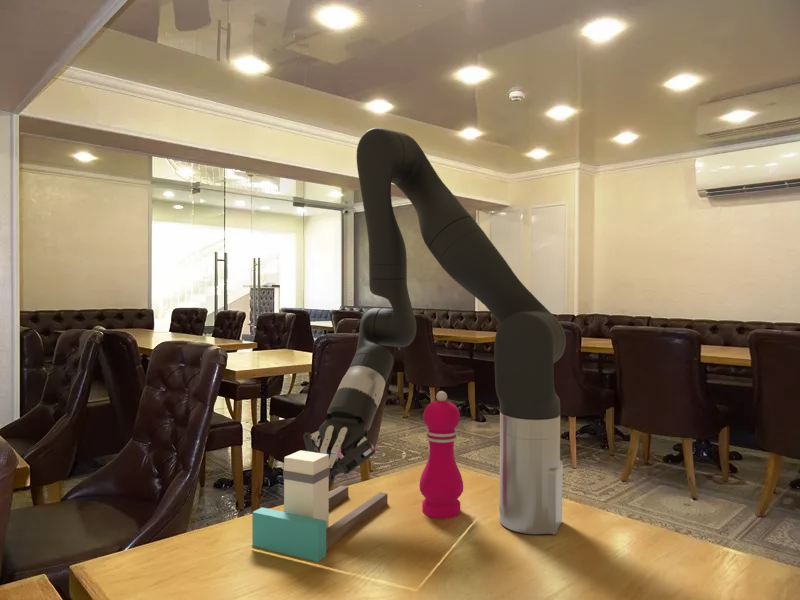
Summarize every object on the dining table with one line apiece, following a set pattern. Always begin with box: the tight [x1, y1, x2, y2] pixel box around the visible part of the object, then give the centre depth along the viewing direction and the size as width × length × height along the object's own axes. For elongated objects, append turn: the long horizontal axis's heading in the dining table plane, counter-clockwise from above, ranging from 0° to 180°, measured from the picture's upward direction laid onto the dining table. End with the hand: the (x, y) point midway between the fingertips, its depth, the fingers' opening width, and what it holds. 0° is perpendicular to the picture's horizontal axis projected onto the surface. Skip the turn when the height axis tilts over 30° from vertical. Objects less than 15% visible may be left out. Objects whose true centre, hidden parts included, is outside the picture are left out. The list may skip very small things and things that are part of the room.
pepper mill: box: [419, 390, 464, 520], centre depth 92 cm, size 7×7×20 cm
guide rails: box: [326, 485, 388, 551], centre depth 87 cm, size 9×22×2 cm, turn 155°
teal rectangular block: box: [251, 506, 327, 562], centre depth 77 cm, size 11×2×5 cm, turn 65°
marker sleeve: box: [282, 450, 330, 529], centre depth 81 cm, size 5×4×12 cm
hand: (316, 494), depth 84 cm, fingers closed
